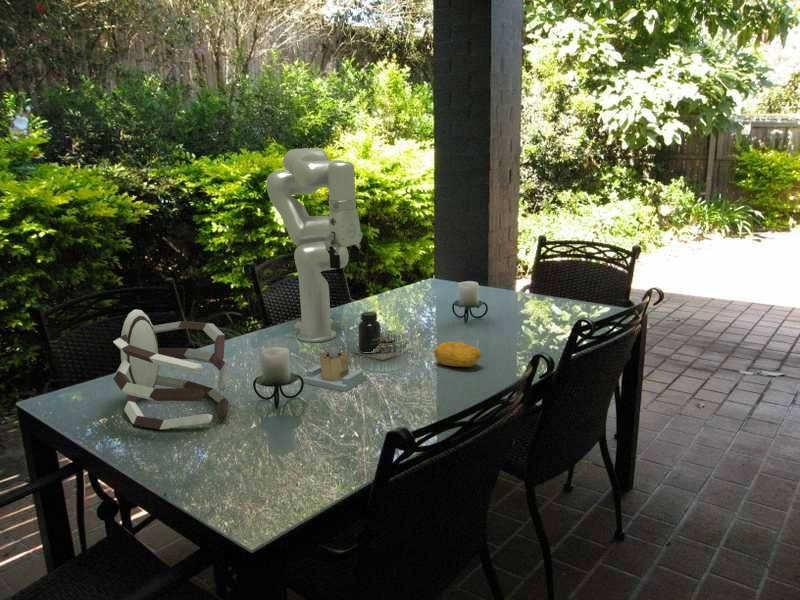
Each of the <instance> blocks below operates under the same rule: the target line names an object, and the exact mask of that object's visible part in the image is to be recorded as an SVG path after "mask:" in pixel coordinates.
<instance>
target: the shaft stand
mask: <svg viewBox="0 0 800 600" xmlns="http://www.w3.org/2000/svg"><path fill="white" fill-rule="evenodd" d="M328 351H329V358H336V357H338V351H339V348H338V347H337V346H330V347H329V348H328ZM367 377H368V376H367V374H366V373H364V371H363V370H359V369H357V370H355V371H351V370H349V375H347V376H345V377H344V378H342V380H338V381H328V380H323V379H322V377H321V366H320V364H318V365H316V366H314V367H312V368H310V369H308V370H306V376H304V377H303V378H302V381H303V380H304V382H305V383H304V384H306V385H311V386H316V387H320V388H324V389H330V390H334V391H338V392H343V393H346V392H348V391H350V390H351V389H353V388H355V387H357V386H359V385H360V384H362V383H363V382H366V381H367V380H368V378H367Z"/></svg>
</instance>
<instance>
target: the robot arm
mask: <svg viewBox="0 0 800 600" xmlns="http://www.w3.org/2000/svg"><path fill="white" fill-rule="evenodd" d="M282 163H283V166H284V169H279V170H275V171H273V172H271V173H269V175H268V176H267V178H266V184H265V185H266V190H267V195H268V198H269V200H270V202H271V204H272V205H273V207H274V208H275V209H276V211H277V212H278V214H279V215H280V217H281V219H282V222H283V224H284V227H285V228H286V229H285V230H286V231H287V233H288V236H289V239H290V240H291V242H292V243H293V244H294V245H295V246H297V247H296V248H295V250H294V254H293V256H294V263H295V268H296V272H297V277H298V278H297V279H298V287H299V301H300V313H301V314H300V316H301V318H300V319H301V321H296V323H295V324H294V326H293V327H294V329H297V330H299V333H298V334H297V338H298V340H300V341H301V342H305V343H307V342H308V343H320V342H321V343H322V342H326V341H327V342H328V341H330V340H333V339H335V338H336V337H337V332H336V331H335V330H334V329H332V321H331V320H332V319H331V303H330V288H329V287H330V285H329V283H328V281H327V279H326V277H324V276H323V275H322V273H321V272H326V271H331V270H339V269H342V268H345V267H346V266H347V265H348V262H351V263H361V255H360V253H361V252H360V251H361V250H360V249H361V244H362V241H363V234H364V233H363V232H362V231H361V225H360V218H359V213H358V209H357V207H356V206H357V201H356V183H355V181H356V180H355V166H354V163H352V161H344V160H339V159H336V160H335V159H331V160H329V156H328V153H327V152H326V151H325V150H324V149H322V148H320V147H309V148H306V147H305V148H294V149H290V150H288V151H287V152H286V153H285V154H284V156H283V159H282ZM320 188H328V204H329V205H328V207H329V214H328V215H315V216H312V215H309V213H308V212H307V209H306V207H305V205H304V204H303V203H302V202H300V200H298V199H297V198H295V197H294V196H295V195H307V194H314V193H316V192H317V191H318V190H319V189H320ZM293 195H294V196H293ZM348 247H350V248H349V251H348Z"/></svg>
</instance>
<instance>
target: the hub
mask: <svg viewBox="0 0 800 600" xmlns="http://www.w3.org/2000/svg"><path fill="white" fill-rule="evenodd" d="M319 363H320V364H319V365H320V366H321V377H322V379H323V380H328V381H338V380H342V378H344V377H345V376H347V375H349V371H350V370H349V355H348V353H347V351H342V350H338V357H336V358H329V350H328V351H325V352H322V353H321V354H319Z"/></svg>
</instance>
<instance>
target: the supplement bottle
mask: <svg viewBox="0 0 800 600" xmlns="http://www.w3.org/2000/svg"><path fill="white" fill-rule="evenodd" d="M360 315H361V316H360V320H361V321H360V322H359V323H358V331H357V332H358V351H359V352H360V351H361V352H371V351H373V349H375V348H376V347H377V346H378V345H379V344H380V343H381V344H382V338H381V337H382V336H381V333H382V332H381V323H380V322H379V321H378V314H377V312H375V311H365V312H362V313H361V314H360ZM361 352H360V353H361Z"/></svg>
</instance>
